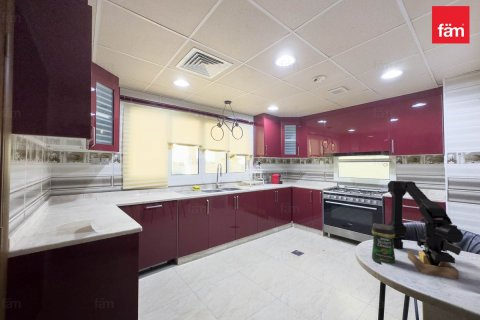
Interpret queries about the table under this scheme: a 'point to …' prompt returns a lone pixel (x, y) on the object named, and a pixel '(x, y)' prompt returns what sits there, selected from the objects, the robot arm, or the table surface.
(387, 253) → the coffee jar
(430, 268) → the walnut cubby
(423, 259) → the ochre cube
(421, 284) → the table surface
